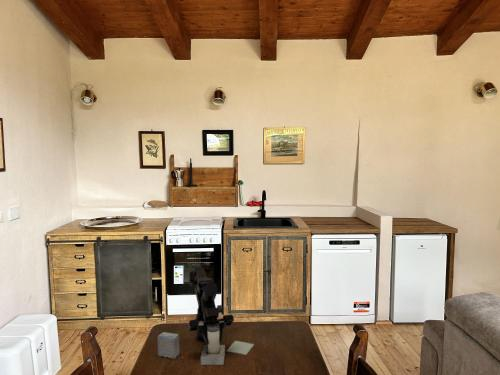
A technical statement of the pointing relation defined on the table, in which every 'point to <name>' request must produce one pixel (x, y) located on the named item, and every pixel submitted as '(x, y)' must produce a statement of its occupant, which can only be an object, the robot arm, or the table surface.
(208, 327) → the plug
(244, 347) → the mat
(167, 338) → the medicine box
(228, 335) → the table surface
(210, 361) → the housing
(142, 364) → the table surface
